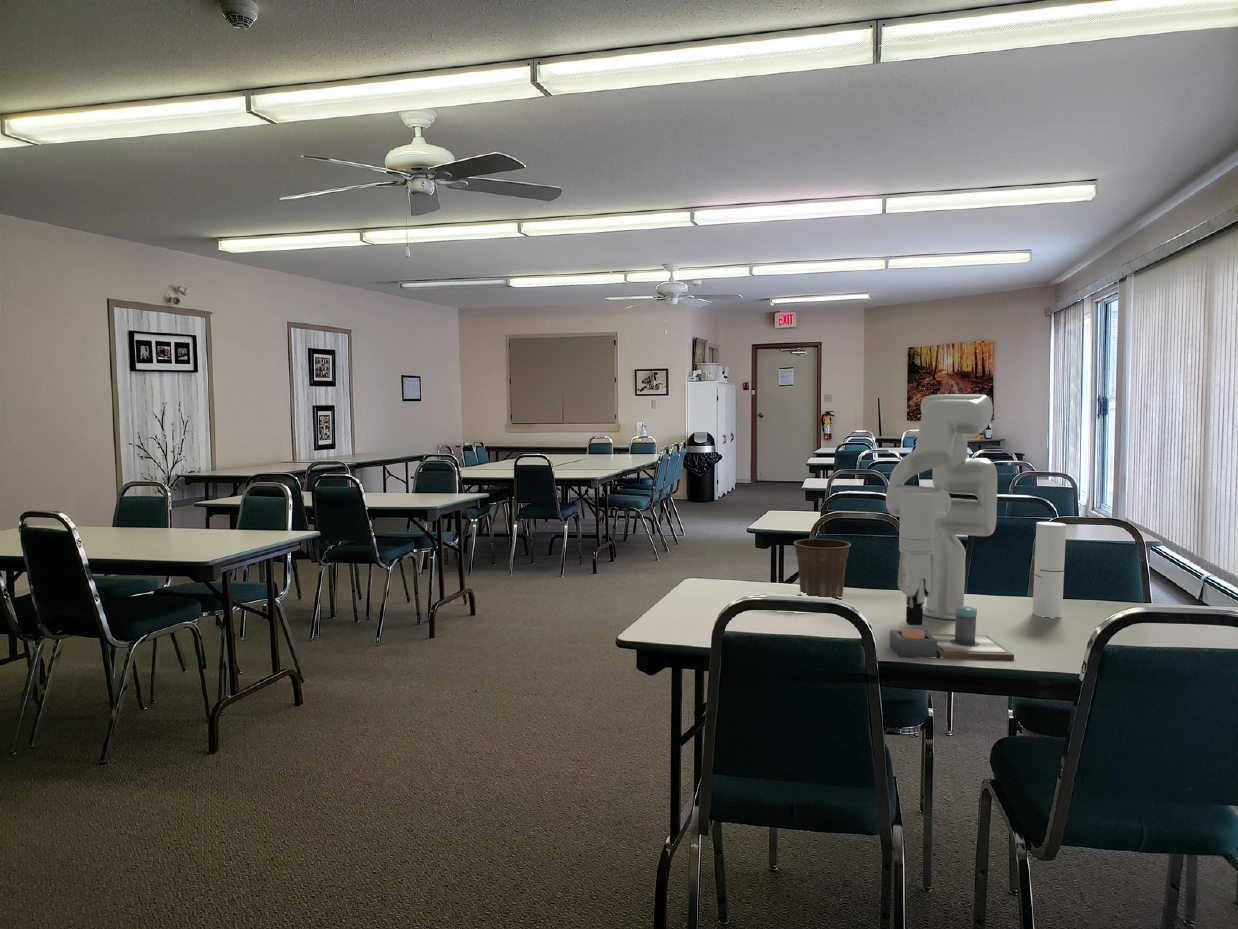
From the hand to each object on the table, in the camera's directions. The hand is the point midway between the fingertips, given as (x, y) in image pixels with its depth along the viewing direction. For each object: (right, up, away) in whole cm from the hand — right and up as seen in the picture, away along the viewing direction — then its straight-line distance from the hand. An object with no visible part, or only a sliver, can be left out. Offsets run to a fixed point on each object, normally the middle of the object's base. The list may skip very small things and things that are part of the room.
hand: (914, 624), depth 192 cm
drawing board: (+13, -6, +3) cm, 15 cm away
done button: (0, -5, 0) cm, 5 cm away
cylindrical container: (+49, -5, +36) cm, 61 cm away
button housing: (0, -7, 0) cm, 6 cm away
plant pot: (-8, -3, +55) cm, 56 cm away
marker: (+13, -5, +3) cm, 14 cm away
